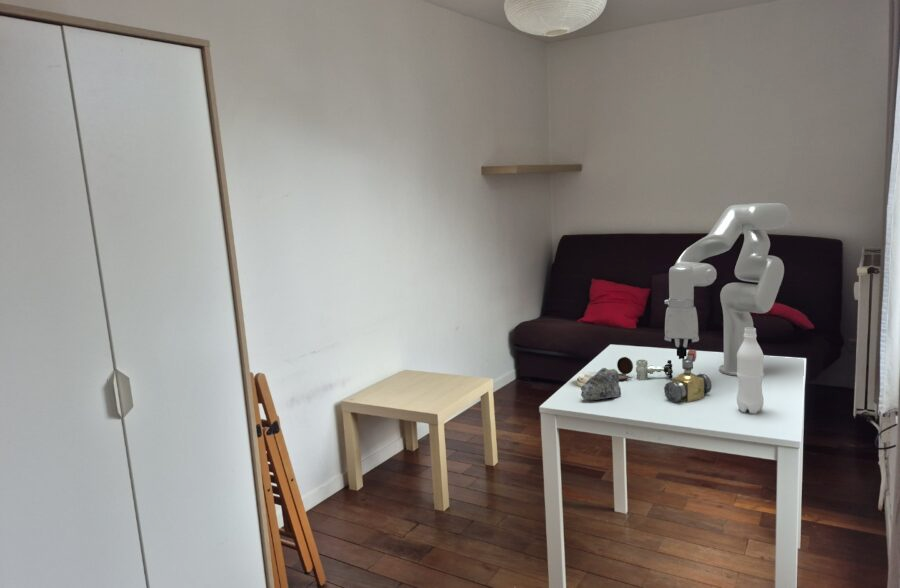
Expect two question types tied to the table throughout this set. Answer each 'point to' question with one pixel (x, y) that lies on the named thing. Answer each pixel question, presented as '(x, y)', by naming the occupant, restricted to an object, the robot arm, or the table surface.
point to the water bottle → (750, 373)
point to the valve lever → (689, 360)
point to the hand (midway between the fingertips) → (681, 358)
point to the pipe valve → (687, 387)
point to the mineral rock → (602, 385)
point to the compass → (624, 368)
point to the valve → (651, 369)
